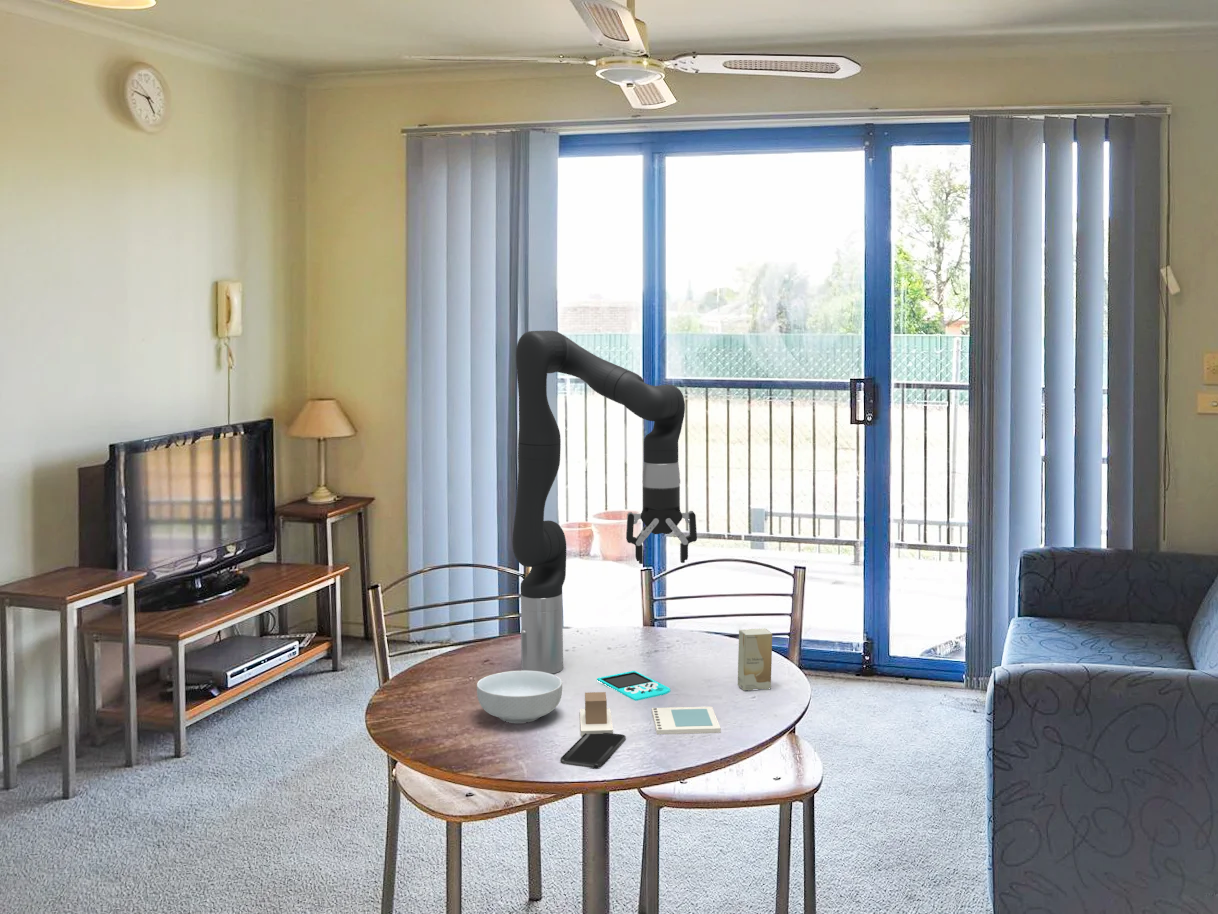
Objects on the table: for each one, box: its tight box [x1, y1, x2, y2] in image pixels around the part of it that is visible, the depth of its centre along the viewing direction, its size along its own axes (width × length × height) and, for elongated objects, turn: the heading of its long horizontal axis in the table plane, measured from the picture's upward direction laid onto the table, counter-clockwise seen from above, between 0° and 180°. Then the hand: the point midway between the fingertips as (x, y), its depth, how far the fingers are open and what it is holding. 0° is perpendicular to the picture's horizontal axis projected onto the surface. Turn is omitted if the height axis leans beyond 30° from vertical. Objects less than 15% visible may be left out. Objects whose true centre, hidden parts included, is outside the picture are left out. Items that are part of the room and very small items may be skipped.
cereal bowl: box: [476, 670, 563, 724], centre depth 219 cm, size 17×17×7 cm
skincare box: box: [737, 627, 773, 691], centre depth 235 cm, size 6×4×12 cm
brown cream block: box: [579, 691, 614, 737], centre depth 214 cm, size 6×12×6 cm, turn 3°
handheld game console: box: [596, 670, 671, 702], centre depth 237 cm, size 10×16×1 cm, turn 31°
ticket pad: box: [651, 706, 722, 735], centre depth 215 cm, size 12×12×1 cm
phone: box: [559, 732, 627, 770], centre depth 202 cm, size 8×1×15 cm
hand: (661, 562), depth 228 cm, fingers open, 8 cm apart
